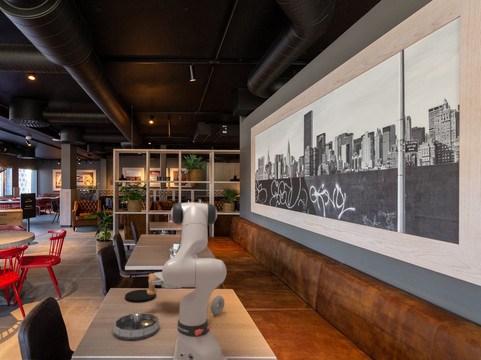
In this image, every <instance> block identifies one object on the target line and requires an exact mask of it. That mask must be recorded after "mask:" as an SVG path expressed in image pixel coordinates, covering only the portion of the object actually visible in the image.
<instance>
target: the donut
mask: <svg viewBox="0 0 481 360" xmlns="http://www.w3.org/2000/svg"><path fill="white" fill-rule="evenodd" d="M224 308H225V299H224V297H223V296H222V295H217V296H215V297H214V298H213V299H212V301H211V303H210V312H211V314H212V315H214V316H219V315H220V314H222V312H223V310H224Z"/></svg>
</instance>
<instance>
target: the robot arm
mask: <svg viewBox="0 0 481 360" xmlns="http://www.w3.org/2000/svg"><path fill="white" fill-rule="evenodd" d="M170 218H171V221H172V222H173V224H175V225H182V226H181V231H180V236H179V238H180V239H179V245H178V247H177V250H176V253H175V254H174V255H173V256H172V257H171V258H170V259H168V260H167V261H166V262H165V263H164V265H163V267H162V271H158V272H154V273H152V274H155V281H152V282H151V284H152V285H155V286H162V287H163V288H164V289H166V290H167V289H168V290H169V289H176V288H177V289H181V288H182V287H184V288H185V287H195V288H194V290H193V291H191V292H189V293H188V294H185V295H184V296H183V297H182V298H181V300H180V302H179V314H178V315H179V316H178V319H177V320H178V321H177V337H176V340H175V347H174V352H173V356H172V357H173V358H172V360H228V358H227V357H226V356H225V355H223V354H222V347H221V345H220V343H219V340H218V339H217V338H216V337H214V335H213V334H212V332H211V331H210V329H211V328H212V327H211V326H212V324H209V321H208V317H207V316H208V305H209V300H210V298H211V296H212V294H213V293H214V291H215V289H216V288H217V287H219V286H220V285H221V284H222V283H224V282H225V279H226V277H227V267H226V264H225V263H224V261H223V260H221V259H218V258H212V257H198V255H197V254H199V253H201V252H202V251H203V250H205V249H206V247H207V246H208V243H209V241H208V240H209V239H208V238H209V237H208V236H209V235H208V226H211V225H214V223H215V222H216V220H217V218H218V210H217V208H216V206H215V204H213V203H210V202H208V203H203V202H193V201H192V202H177V203H174V204H173V205H172V208H171V210H170ZM147 280H148V283H149V279H147Z"/></svg>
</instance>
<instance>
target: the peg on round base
mask: <svg viewBox="0 0 481 360" xmlns="http://www.w3.org/2000/svg"><path fill="white" fill-rule="evenodd" d="M148 280H149V282H148V289H146V290H147V294H148V295H153V294H156V295H157V289H156V288H155V287H156V285H152V284H151V282H152V281H155V274H153V273H149V274H148Z"/></svg>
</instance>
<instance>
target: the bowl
mask: <svg viewBox="0 0 481 360" xmlns="http://www.w3.org/2000/svg"><path fill="white" fill-rule="evenodd" d="M159 327H160V319H159V316H157V315H156V314H153V313H149V312H142V311H141V312H140V311H137V312H133V313H131V312H130V313H128V314H125V315H121V316H119V317H118V318H116V319H115V320H114V321H113V330H112V332H113V336H114V338H117V340H122V341H128V342H129V341H139V340H145V339H148V338H150V337H152V336H154V335H155V334H156V333H158V332H159Z"/></svg>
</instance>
